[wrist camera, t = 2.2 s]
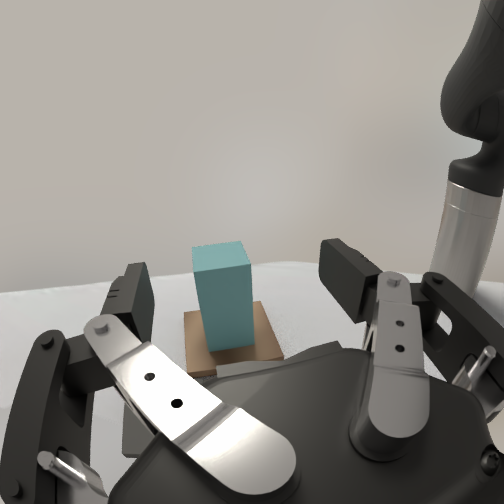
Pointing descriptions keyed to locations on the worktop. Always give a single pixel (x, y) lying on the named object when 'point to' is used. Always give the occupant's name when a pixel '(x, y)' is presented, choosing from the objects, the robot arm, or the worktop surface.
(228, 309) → the teal block
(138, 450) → the coaster mat
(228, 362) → the walnut base
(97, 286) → the worktop surface
